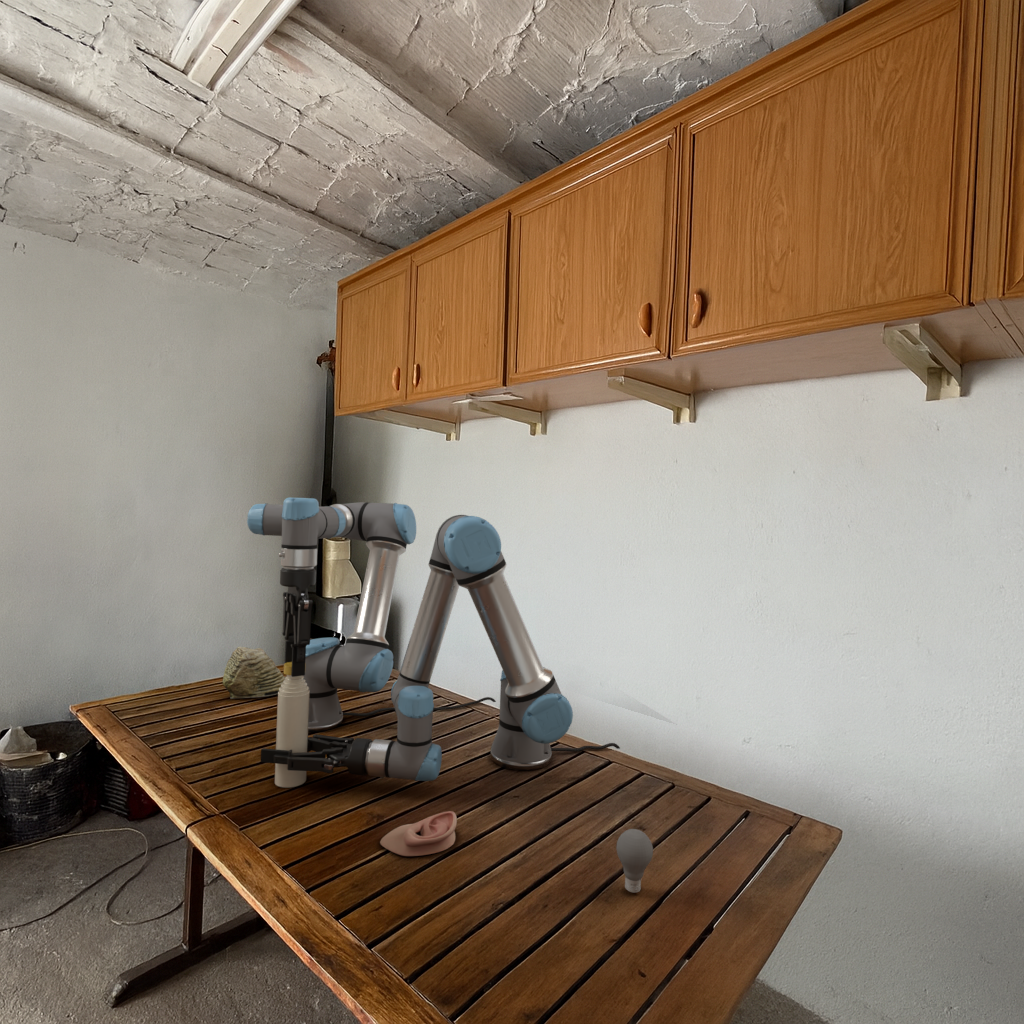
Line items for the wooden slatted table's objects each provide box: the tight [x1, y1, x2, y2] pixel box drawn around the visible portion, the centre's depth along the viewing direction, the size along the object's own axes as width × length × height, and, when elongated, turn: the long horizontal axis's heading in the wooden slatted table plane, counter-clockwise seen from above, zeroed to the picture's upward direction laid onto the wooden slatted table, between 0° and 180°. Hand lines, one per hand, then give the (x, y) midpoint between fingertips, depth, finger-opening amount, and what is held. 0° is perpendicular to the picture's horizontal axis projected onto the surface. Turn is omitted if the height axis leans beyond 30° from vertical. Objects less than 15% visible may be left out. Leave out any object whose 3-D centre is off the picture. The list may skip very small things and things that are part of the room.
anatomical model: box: [379, 810, 458, 857], centre depth 118 cm, size 13×4×12 cm
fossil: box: [222, 646, 286, 699], centre depth 198 cm, size 9×18×15 cm, turn 132°
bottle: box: [274, 675, 310, 789], centre depth 140 cm, size 7×7×26 cm
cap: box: [283, 662, 306, 676], centre depth 140 cm, size 5×5×2 cm
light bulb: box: [615, 828, 654, 894], centre depth 106 cm, size 6×6×10 cm
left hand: (294, 672), depth 140 cm, fingers closed on cap, 4 cm apart
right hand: (270, 748), depth 141 cm, fingers closed on bottle, 7 cm apart
